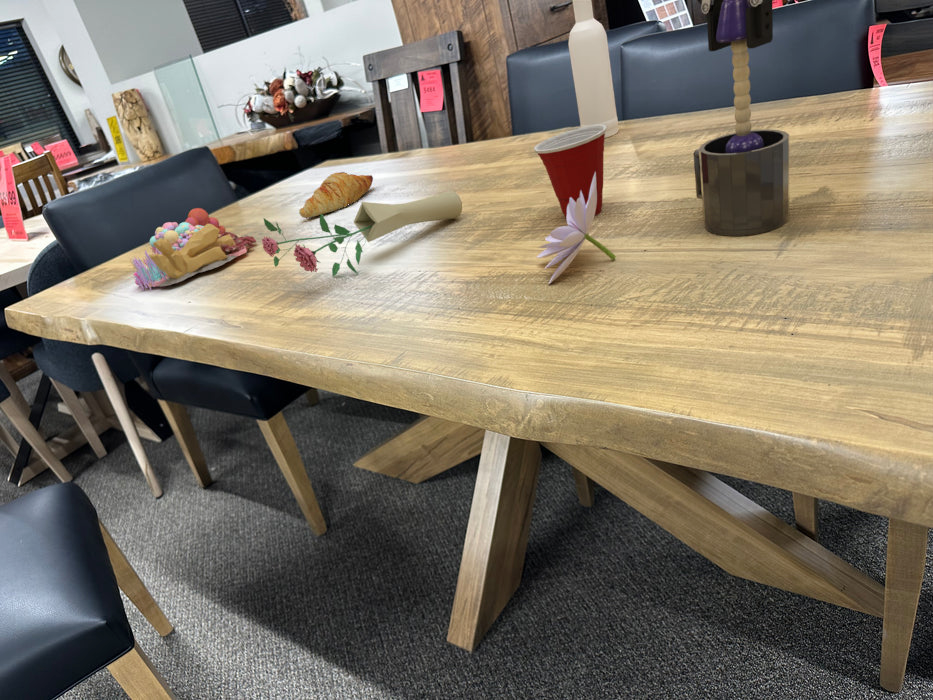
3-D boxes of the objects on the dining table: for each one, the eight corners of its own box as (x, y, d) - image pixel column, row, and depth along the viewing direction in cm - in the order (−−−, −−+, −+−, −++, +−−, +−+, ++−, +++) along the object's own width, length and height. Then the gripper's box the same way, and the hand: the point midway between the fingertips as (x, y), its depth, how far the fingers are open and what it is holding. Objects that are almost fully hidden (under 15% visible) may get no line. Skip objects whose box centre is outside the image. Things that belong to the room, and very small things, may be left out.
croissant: (317, 237, 136) (316, 206, 130) (285, 216, 139) (282, 184, 133) (385, 199, 148) (387, 169, 142) (354, 181, 152) (354, 150, 146)
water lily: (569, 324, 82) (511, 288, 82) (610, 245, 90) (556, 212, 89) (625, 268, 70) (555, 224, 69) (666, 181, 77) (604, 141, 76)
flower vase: (470, 263, 112) (297, 313, 89) (424, 238, 119) (252, 279, 96) (480, 198, 106) (297, 234, 83) (430, 176, 113) (249, 204, 90)
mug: (807, 213, 78) (808, 131, 73) (748, 242, 75) (746, 158, 70) (725, 199, 89) (721, 126, 84) (671, 223, 86) (664, 149, 81)
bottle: (575, 141, 140) (551, -11, 126) (596, 130, 144) (576, -18, 130) (604, 140, 135) (582, -19, 121) (626, 129, 139) (607, -26, 125)
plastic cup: (559, 203, 105) (546, 130, 99) (625, 197, 99) (615, 119, 94) (537, 229, 97) (521, 150, 91) (606, 224, 91) (594, 140, 86)
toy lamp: (768, 151, 74) (765, -10, 66) (725, 159, 75) (717, 3, 67) (759, 141, 78) (755, -11, 70) (719, 149, 79) (710, 0, 71)
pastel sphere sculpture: (275, 245, 125) (257, 200, 121) (162, 298, 112) (137, 250, 108) (222, 237, 143) (204, 197, 138) (119, 282, 130) (96, 240, 125)
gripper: (839, -191, 57) (833, 32, 65) (697, -134, 71) (707, 43, 79) (779, -178, 54) (780, 51, 63) (644, -122, 68) (660, 59, 77)
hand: (739, 44), depth 71 cm, fingers closed on toy lamp, 4 cm apart
